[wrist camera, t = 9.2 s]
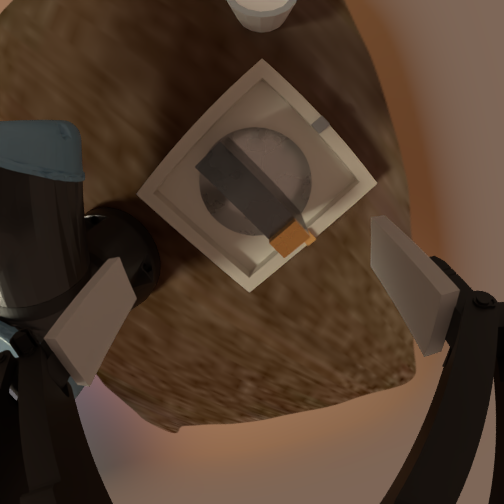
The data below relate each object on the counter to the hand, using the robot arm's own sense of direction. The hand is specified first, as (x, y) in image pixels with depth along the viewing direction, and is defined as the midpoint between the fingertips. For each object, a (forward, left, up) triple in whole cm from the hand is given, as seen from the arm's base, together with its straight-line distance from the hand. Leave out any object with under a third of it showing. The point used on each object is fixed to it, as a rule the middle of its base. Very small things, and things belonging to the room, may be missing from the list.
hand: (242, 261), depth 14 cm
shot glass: (+15, +14, -21) cm, 29 cm away
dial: (0, 0, -18) cm, 18 cm away
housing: (0, 0, -21) cm, 21 cm away
